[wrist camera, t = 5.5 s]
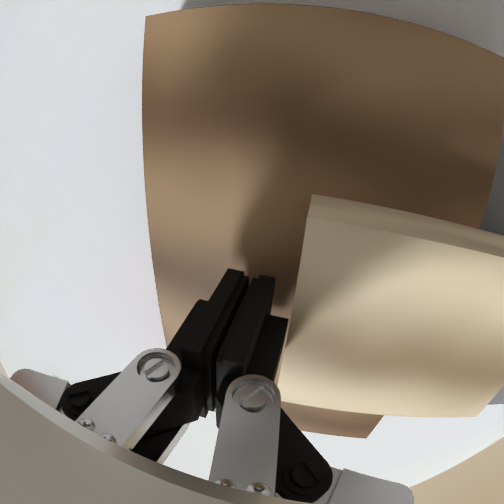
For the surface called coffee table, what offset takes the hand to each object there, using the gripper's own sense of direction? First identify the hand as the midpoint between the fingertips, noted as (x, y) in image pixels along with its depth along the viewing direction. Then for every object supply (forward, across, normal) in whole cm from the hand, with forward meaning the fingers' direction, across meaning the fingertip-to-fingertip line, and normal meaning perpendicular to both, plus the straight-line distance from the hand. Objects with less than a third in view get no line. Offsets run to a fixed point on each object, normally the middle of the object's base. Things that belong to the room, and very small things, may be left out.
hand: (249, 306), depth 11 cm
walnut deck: (+3, -2, 0) cm, 3 cm away
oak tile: (+1, -6, 0) cm, 7 cm away
